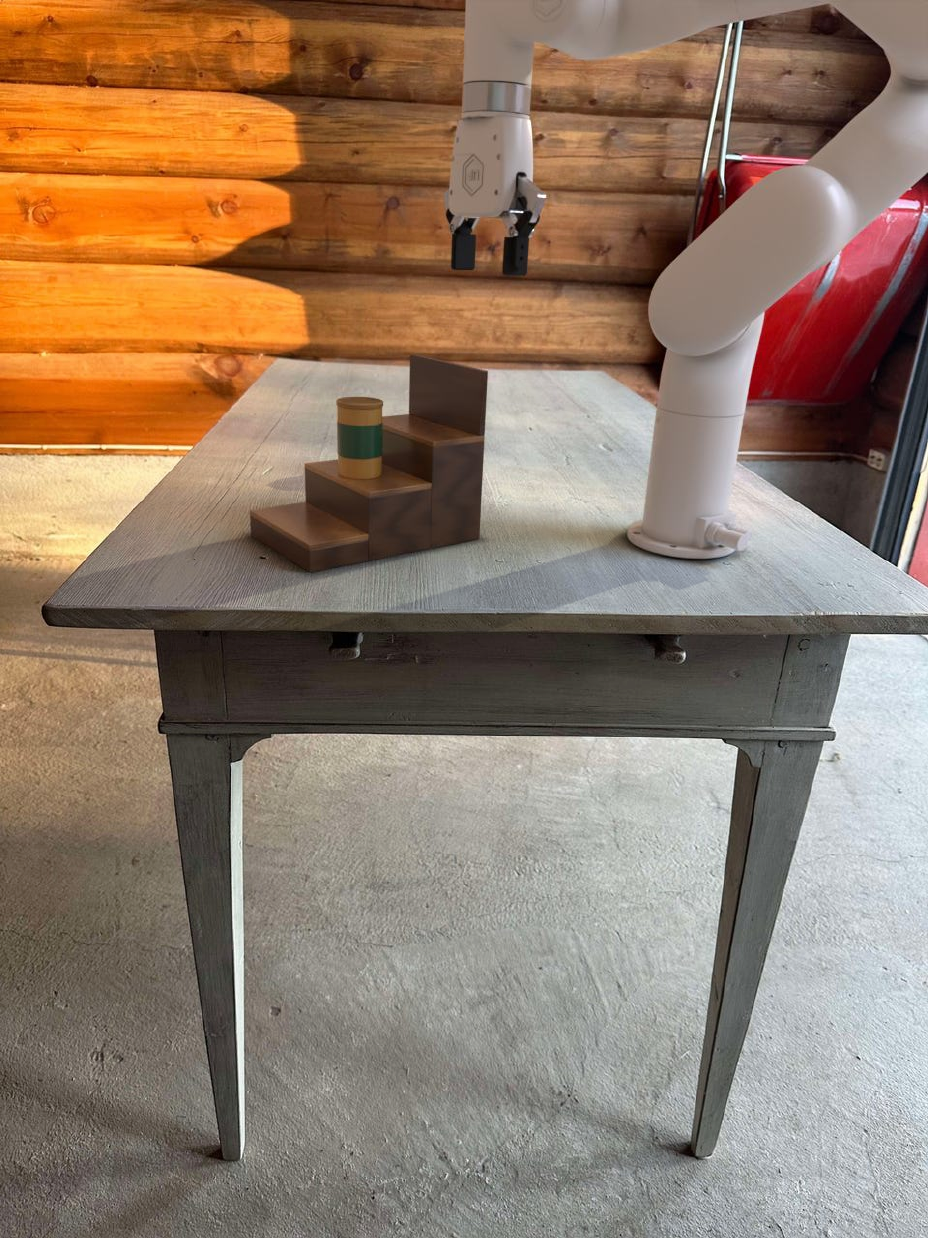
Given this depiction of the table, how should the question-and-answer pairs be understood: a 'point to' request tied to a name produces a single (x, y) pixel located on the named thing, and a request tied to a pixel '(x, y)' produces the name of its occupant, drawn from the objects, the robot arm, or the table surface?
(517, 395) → the table surface
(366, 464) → the tin
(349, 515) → the step shelf
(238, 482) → the table surface
